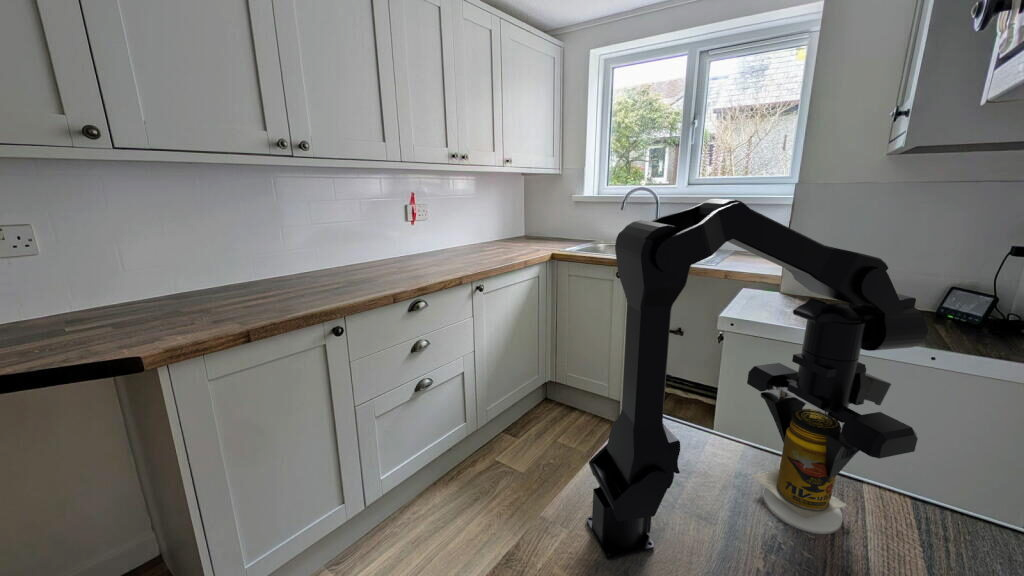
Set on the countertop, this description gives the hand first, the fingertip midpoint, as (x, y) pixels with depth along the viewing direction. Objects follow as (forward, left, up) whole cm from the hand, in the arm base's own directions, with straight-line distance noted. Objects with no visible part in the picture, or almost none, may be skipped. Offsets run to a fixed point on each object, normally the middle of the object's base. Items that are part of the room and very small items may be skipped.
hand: (808, 460), depth 57 cm
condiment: (0, +1, -6) cm, 6 cm away
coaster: (0, 0, -8) cm, 8 cm away
